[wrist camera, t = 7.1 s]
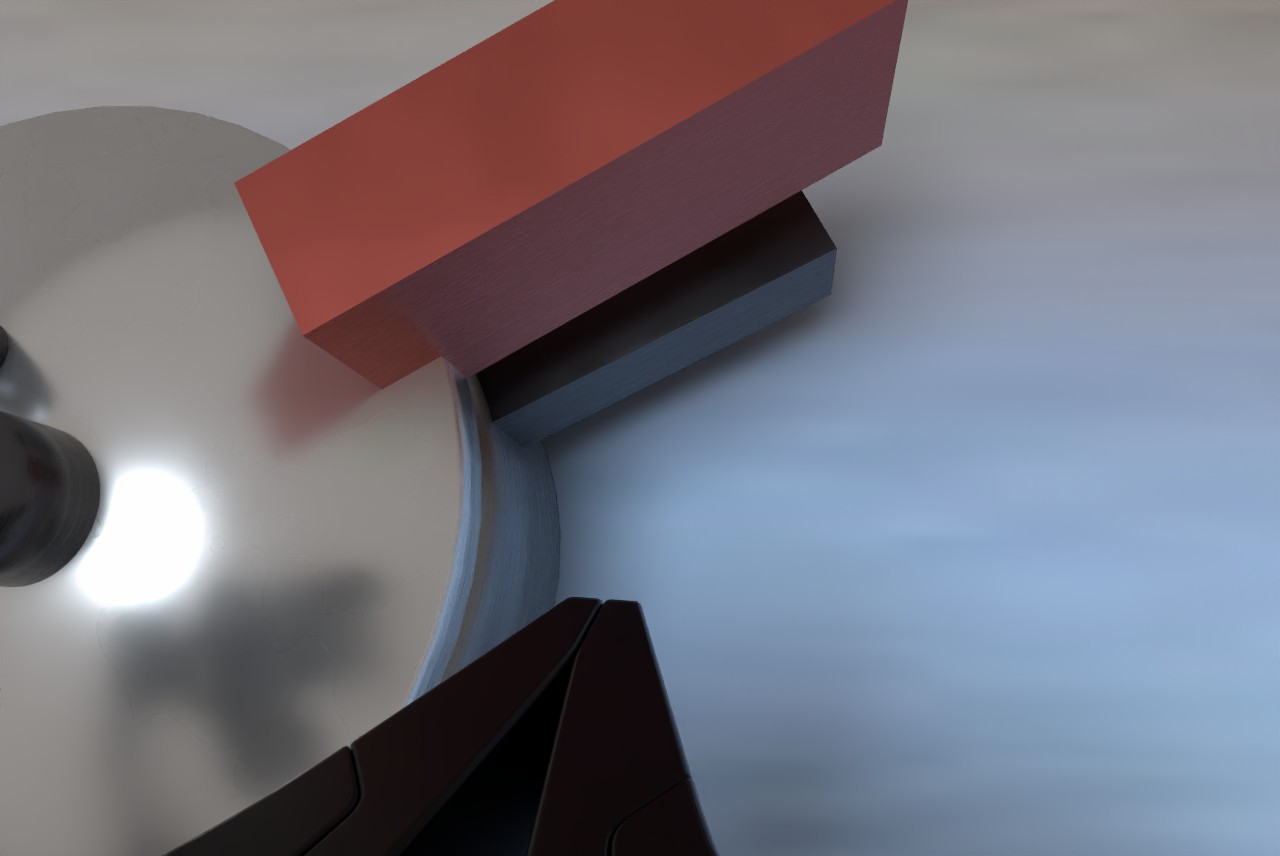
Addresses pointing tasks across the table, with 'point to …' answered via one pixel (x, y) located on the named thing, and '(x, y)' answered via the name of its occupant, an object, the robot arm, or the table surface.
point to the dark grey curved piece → (614, 392)
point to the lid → (332, 376)
